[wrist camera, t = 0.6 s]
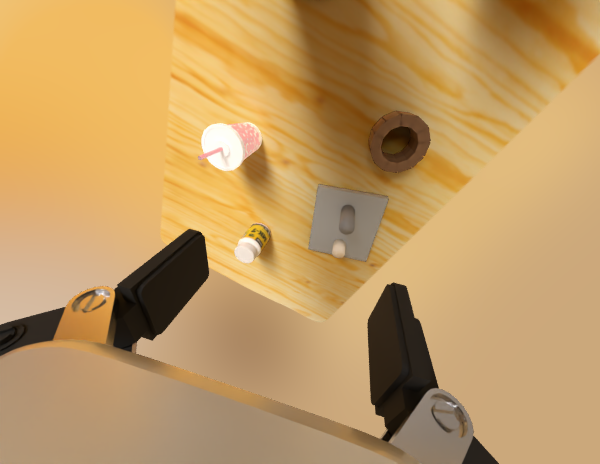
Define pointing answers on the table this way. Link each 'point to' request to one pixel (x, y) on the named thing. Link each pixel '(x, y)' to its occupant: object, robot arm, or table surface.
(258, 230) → the supplement bottle
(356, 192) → the post board
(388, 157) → the ring
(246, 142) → the beverage cup
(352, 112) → the table surface
